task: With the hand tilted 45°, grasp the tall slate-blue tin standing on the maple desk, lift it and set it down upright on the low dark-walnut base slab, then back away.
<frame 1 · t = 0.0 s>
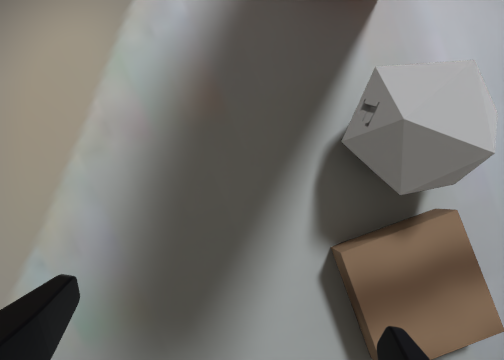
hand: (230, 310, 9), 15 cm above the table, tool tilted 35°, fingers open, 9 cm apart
die: (387, 139, 24), on the table
base slab: (403, 281, 23), on the table
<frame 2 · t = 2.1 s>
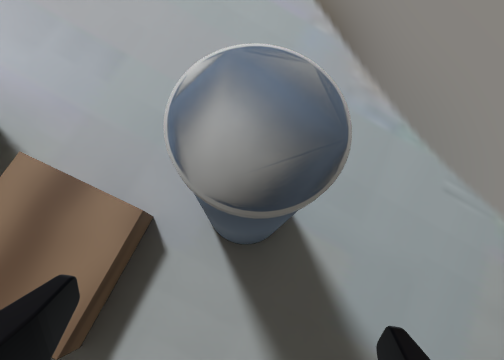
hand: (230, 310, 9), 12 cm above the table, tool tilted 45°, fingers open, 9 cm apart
base slab: (60, 248, 20), on the table
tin: (245, 205, 21), on the table
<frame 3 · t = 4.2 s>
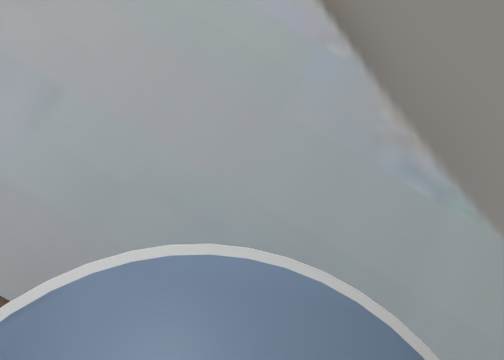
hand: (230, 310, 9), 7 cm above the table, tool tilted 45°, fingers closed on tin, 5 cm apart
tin: (228, 320, 15), on the table, touching gripper
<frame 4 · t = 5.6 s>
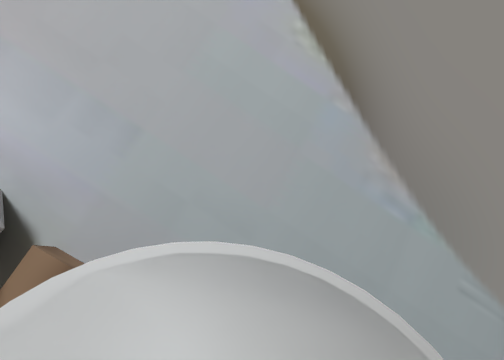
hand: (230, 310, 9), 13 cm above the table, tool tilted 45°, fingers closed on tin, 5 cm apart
base slab: (68, 339, 20), on the table
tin: (228, 319, 15), point 7 cm above the table, touching gripper
when the fingers open (10 cm above the table, at t = 7.3 s): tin drops 1 cm, resting on base slab.
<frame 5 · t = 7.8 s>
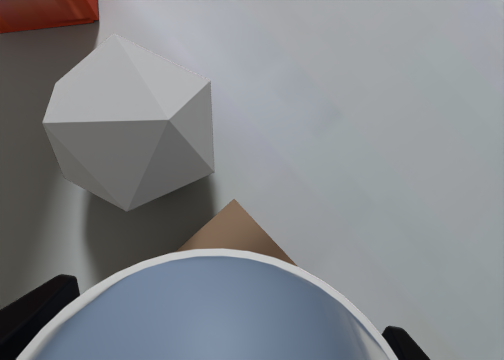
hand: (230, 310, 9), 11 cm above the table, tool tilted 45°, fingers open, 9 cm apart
die: (156, 154, 21), on the table
base slab: (229, 308, 18), on the table
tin: (228, 316, 16), point 3 cm above the table, touching base slab
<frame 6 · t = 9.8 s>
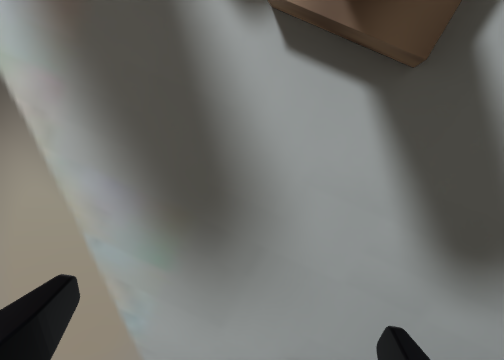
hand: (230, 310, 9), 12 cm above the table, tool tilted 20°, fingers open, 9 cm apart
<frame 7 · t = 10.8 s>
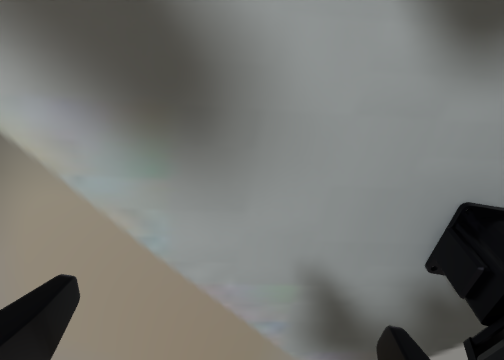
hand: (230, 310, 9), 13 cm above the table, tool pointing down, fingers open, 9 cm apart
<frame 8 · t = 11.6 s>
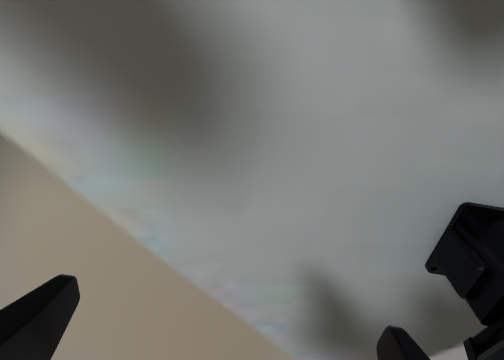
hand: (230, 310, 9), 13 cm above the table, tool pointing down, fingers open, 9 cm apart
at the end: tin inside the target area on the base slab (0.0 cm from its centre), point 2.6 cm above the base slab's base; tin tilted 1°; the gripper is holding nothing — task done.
